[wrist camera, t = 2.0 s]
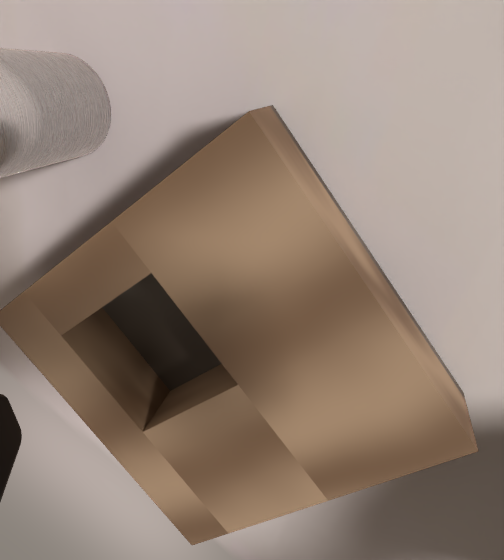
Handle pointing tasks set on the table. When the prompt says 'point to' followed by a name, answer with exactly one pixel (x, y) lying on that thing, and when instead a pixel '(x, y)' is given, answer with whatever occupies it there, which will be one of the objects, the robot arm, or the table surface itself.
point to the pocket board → (241, 342)
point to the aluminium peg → (48, 109)
